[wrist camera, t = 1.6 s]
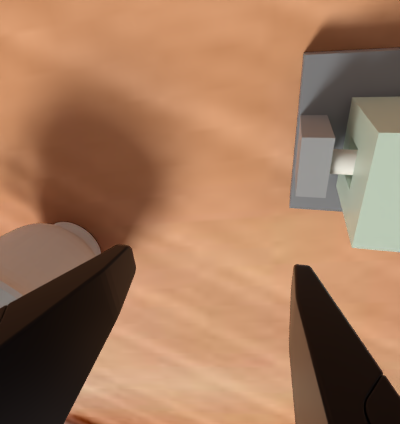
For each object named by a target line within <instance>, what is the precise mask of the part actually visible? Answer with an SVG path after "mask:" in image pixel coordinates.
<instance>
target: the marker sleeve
mask: <svg viewBox="0 0 400 424" xmlns="http://www.w3.org/2000/svg"><path fill="white" fill-rule="evenodd" d="M343 149H349V150H358V152H357V157H356V162H355V167H354V171H353V175H342V174H338V179H337V184H336V187H337V191H338V195H339V199H340V203H341V207H342V211H343V215H344V219H345V223H346V227H347V231H348V235H349V239H350V243H351V247H352V248H361V249H371V250H382V251H392V252H400V97H352V101H351V106H350V112H349V118H348V123H347V129H346V134H345V140H344V145H343Z"/></svg>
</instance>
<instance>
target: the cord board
mask: <svg viewBox="0 0 400 424" xmlns="http://www.w3.org/2000/svg"><path fill="white" fill-rule="evenodd" d="M352 97H400V47H398V48H378V49H359V50H340V51H321V52H304V54H303V65H302V75H301V86H300V96H299V107H298V117H297V127H296V138H295V148H294V159H293V169H292V180H291V190H290V208H299V209H313V210H327V211H342V207H341V203H340V199H339V195H338V191H337V187H336V184H337V179H338V174H342V175H353V171H354V167H355V162H356V157H357V152H358V150H349V149H343V145H344V140H345V134H346V129H347V123H348V118H349V112H350V106H351V101H352ZM342 212H343V211H342Z"/></svg>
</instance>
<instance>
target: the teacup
mask: <svg viewBox="0 0 400 424" xmlns="http://www.w3.org/2000/svg"><path fill="white" fill-rule="evenodd" d="M99 254H101V251H100V248H99V245H98V243H97V241H96V240H95V239H94V238H93V236H92V235H91V234H90V233H88V232H87V231H86V230H85V229H83V228H82V227H80V226H78V225H76V224H73V223H70V222H58V223H55V224H46V223H36V224H30V225H26V226H23V227H20V228H17V229H15V230H13V231H11V232H9V233H6V234H5V235H3V236H1V237H0V308H1V307H3V306H5V305H7V306H8V304H9V303H11V302H12V301H14V300H16V299H18V298H20V297H22V296H23V295H25V294H27V293H29V292H31V291H33V290H35V289H36V288H38V287H40V286H42V285H44V284H46V283H47V282H49V281H51V280H53V279H55V278H57V277H59V276H60V275H62V274H64V273H66V272H68V271H70V270H71V269H73V268H75V267H77V266H79V265H81V264H83V263H84V262H86V261H88V260H90V259H92V258H94V257H95V256H97V255H99Z"/></svg>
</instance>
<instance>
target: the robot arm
mask: <svg viewBox="0 0 400 424" xmlns="http://www.w3.org/2000/svg"><path fill="white" fill-rule="evenodd" d="M135 271H136V265H135V260H134V256H133V252H132V248H131V247H130V246H128V245H116V246H114V247H112V248H110V249H108V250H107V251H105V252H103V253H101V254H99V255H97V256H95V257H94V258H92V259H90V260H88V261H86V262H84V263H83V264H81V265H79V266H77V267H75V268H73V269H71V270H70V271H68V272H66V273H64V274H62V275H60V276H59V277H57V278H55V279H53V280H51V281H49V282H47V283H46V284H44V285H42V286H40V287H38V288H36V289H35V290H33V291H31V292H29V293H27V294H25V295H23V296H22V297H20V298H18V299H16V300H14V301H12V302H11V303H9V304H8V306H7V305H5V306H3V307H1V308H0V424H64V422H65V420H66V418H67V416H68V414H69V412H70V410H71V408H72V406H73V404H74V403H75V401H76V399H77V397H78V395H79V393H80V391H81V389H82V387H83V385H84V383H85V381H86V379H87V377H88V375H89V373H90V371H91V369H92V367H93V365H94V363H95V361H96V359H97V357H98V355H99V354H100V352H101V350H102V348H103V346H104V344H105V342H106V340H107V338H108V336H109V334H110V332H111V330H112V328H113V326H114V324H115V322H116V320H117V318H118V316H119V314H120V311H121V309H122V306H123V303H124V301H125V298H126V296H127V293H128V290H129V288H130V285H131V282H132V280H133V277H134V275H135ZM289 354H290V365H291V377H292V388H293V400H294V411H295V423H296V424H400V396H399V395H398V393H397V392H396V391H395V389H394V388H393V386H392V385H391V383H390V382H389V380H388V379H387V377H386V376H385V375H383V372H382V370H381V369H380V367H379V366H378V364H377V363H376V361H375V360H374V359H373V357H372V356H371V354H370V353H369V351H368V350H367V348H366V347H365V345H364V344H363V343H362V341H361V340H360V338H359V337H358V335H357V334H356V332H355V331H354V329H353V328H352V326H351V325H350V324H349V322H348V321H347V319H346V318H345V316H344V315H343V313H342V312H341V310H340V309H339V307H338V306H337V305H336V303H335V302H334V300H333V299H332V297H331V296H330V294H329V293H328V291H327V290H326V289H325V287H324V286H323V284H322V283H321V281H320V280H319V278H318V277H317V275H316V274H315V272H314V271H313V270H312V268H311V267H310V266H308V265H299V264H296V265H294V268H293V277H292V285H291V301H290V326H289Z"/></svg>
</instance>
